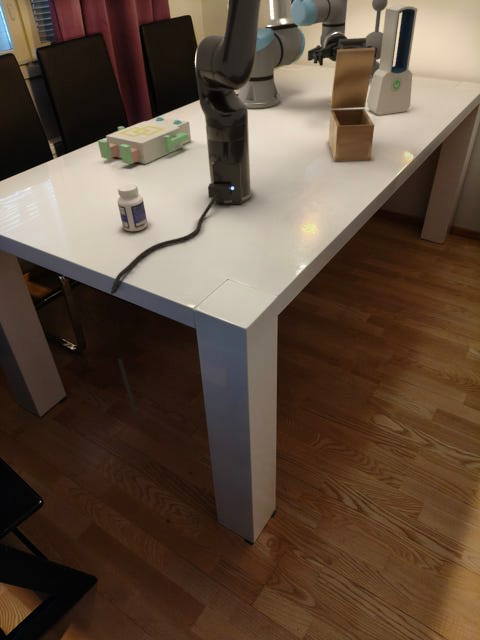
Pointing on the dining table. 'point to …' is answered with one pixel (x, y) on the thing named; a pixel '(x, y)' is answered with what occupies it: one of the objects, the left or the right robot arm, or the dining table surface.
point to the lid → (352, 74)
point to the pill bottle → (131, 208)
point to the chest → (350, 135)
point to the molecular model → (376, 33)
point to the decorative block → (146, 140)
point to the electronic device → (395, 82)
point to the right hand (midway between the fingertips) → (345, 59)
